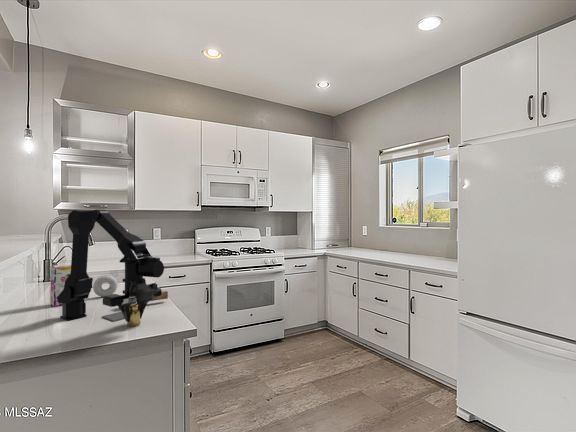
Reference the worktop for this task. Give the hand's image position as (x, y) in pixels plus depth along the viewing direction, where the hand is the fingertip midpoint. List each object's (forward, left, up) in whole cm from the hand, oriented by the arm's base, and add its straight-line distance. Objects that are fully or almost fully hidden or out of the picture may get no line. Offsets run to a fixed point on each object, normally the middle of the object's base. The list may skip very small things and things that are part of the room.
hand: (133, 320), depth 114 cm
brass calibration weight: (0, 0, -2) cm, 2 cm away
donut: (+14, +46, -2) cm, 48 cm away
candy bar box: (-1, +48, -2) cm, 48 cm away
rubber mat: (+2, +13, -2) cm, 13 cm away
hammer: (+17, +19, -1) cm, 26 cm away
